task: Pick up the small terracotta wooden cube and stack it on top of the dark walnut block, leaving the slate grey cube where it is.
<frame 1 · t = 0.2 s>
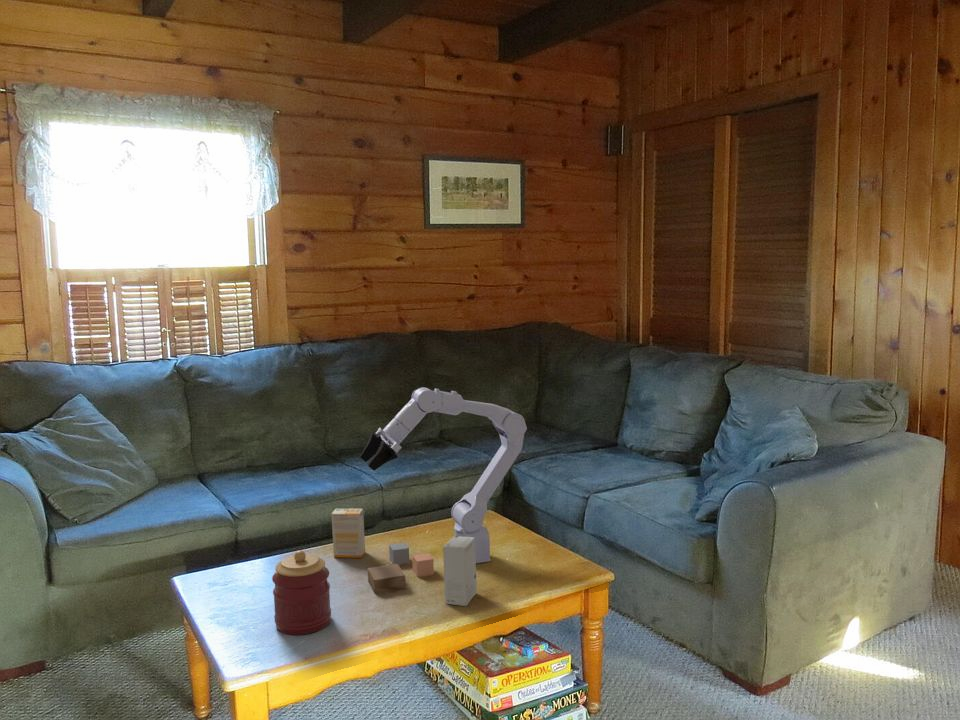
hand: (366, 463, 211), 31 cm above the table, tool tilted 45°, fingers open, 7 cm apart
slate grey cube: (399, 561, 225), on the table
terracotta cube: (423, 573, 217), on the table
walnut block: (386, 586, 209), on the table
skincare box: (460, 599, 201), on the table
supplement box: (349, 555, 230), on the table
canister: (303, 623, 189), on the table
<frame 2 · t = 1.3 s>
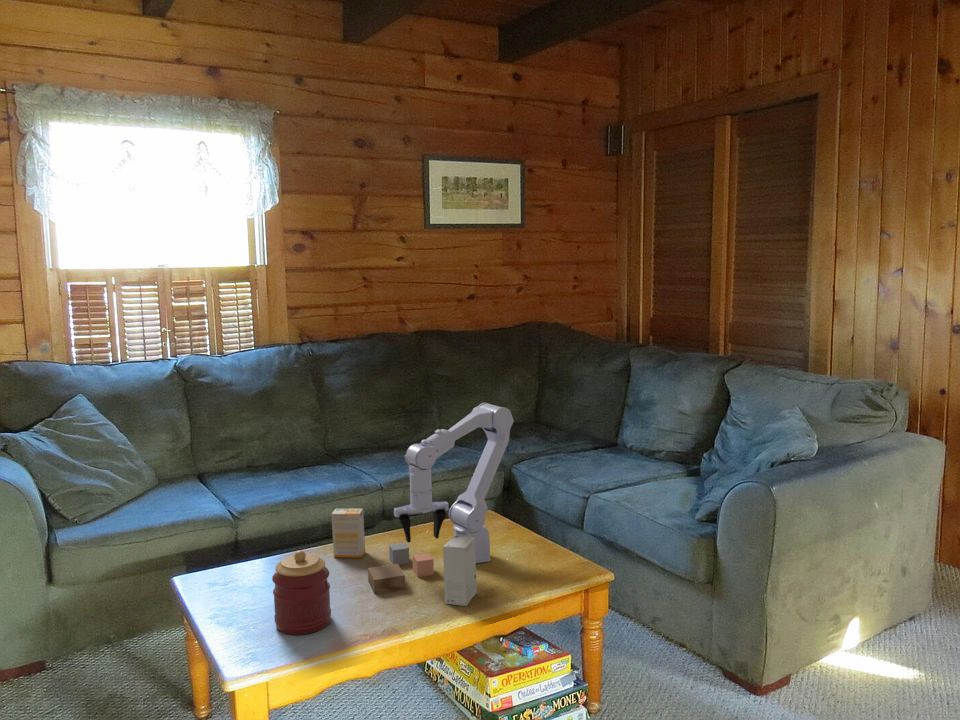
hand: (422, 539, 215), 9 cm above the table, tool pointing down, fingers open, 7 cm apart
nothing on the table moved.
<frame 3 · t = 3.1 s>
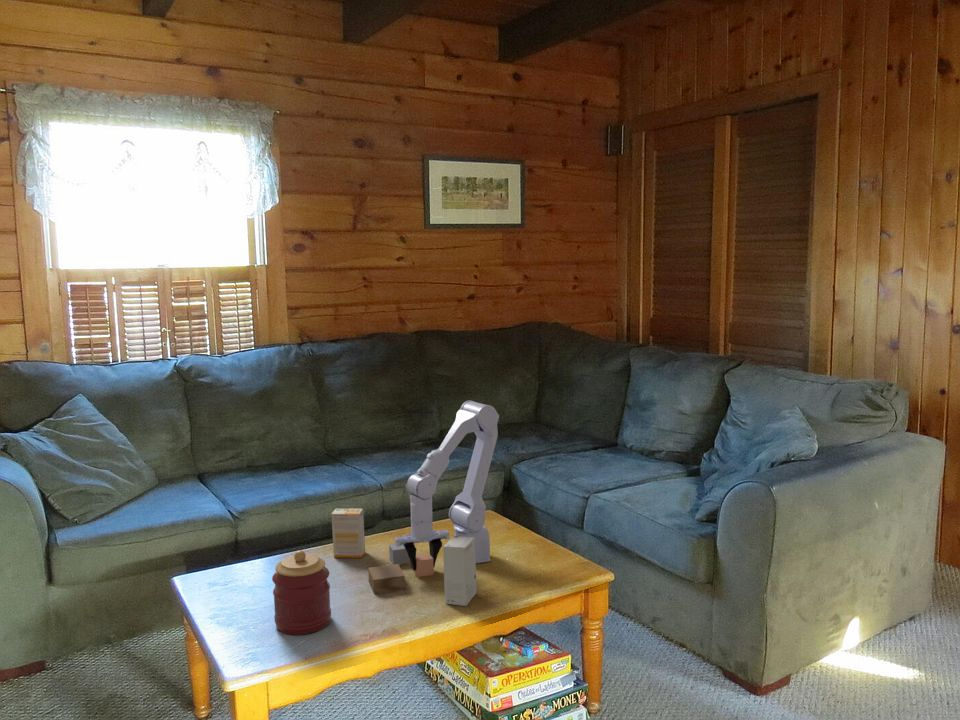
hand: (423, 567, 216), 1 cm above the table, tool pointing down, fingers closed on terracotta cube, 4 cm apart
terracotta cube: (423, 572, 217), on the table, touching gripper
everything else where it was.
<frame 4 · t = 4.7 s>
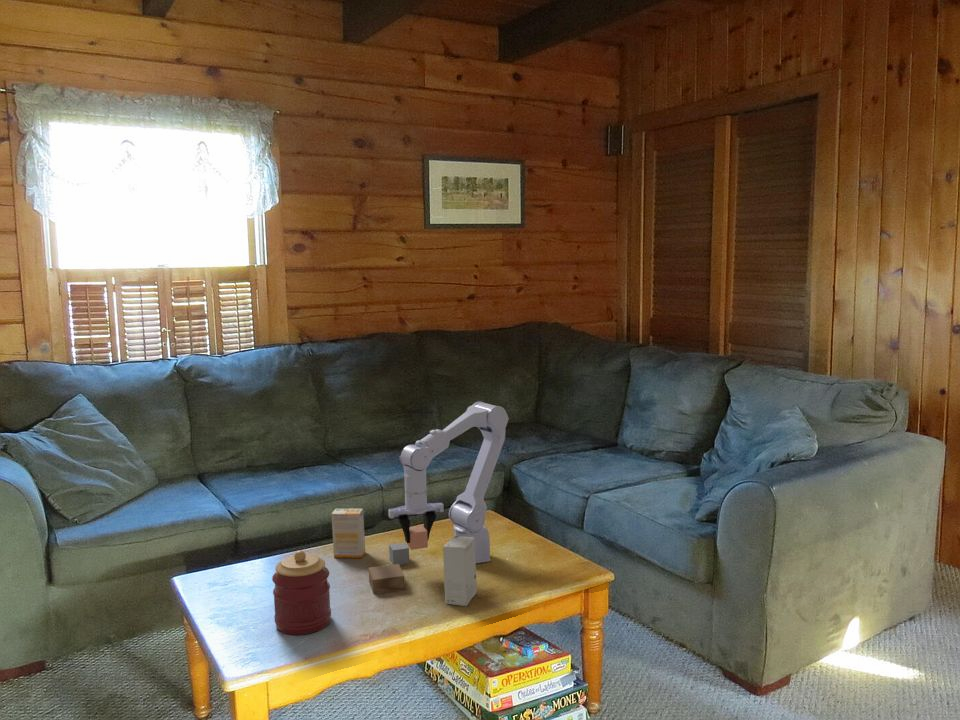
hand: (416, 540, 214), 9 cm above the table, tool pointing down, fingers closed on terracotta cube, 4 cm apart
terracotta cube: (417, 545, 214), point 8 cm above the table, touching gripper
everything else where it was.
when the fingers open (7 cm above the table, at t = 6.2 s): terracotta cube drops 2 cm, resting on walnut block.
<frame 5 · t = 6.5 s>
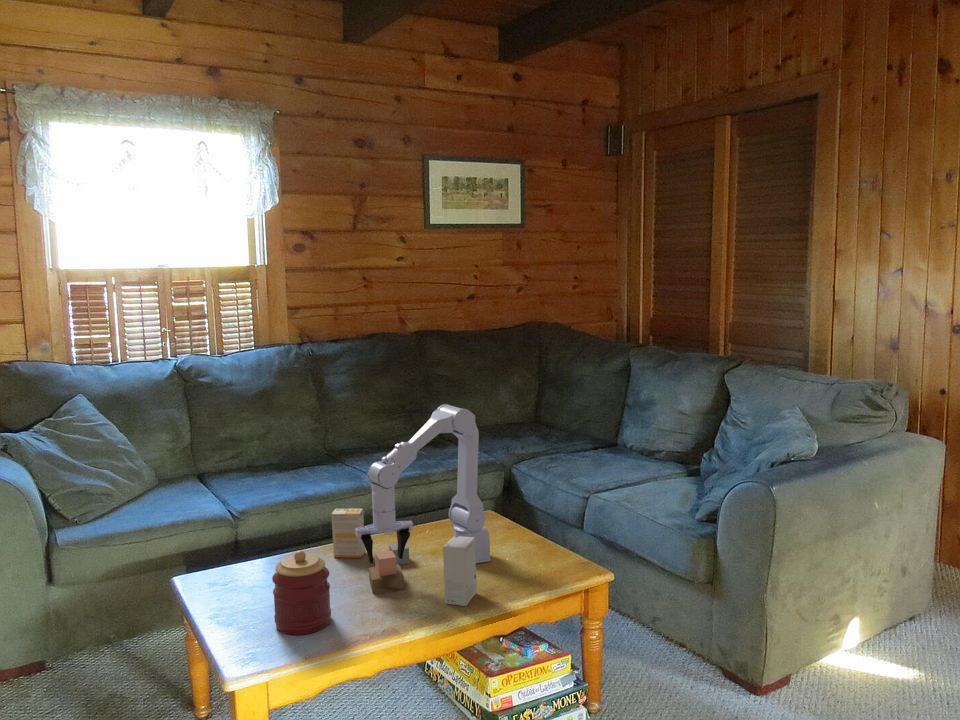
hand: (385, 559, 208), 7 cm above the table, tool pointing down, fingers open, 7 cm apart
terracotta cube: (386, 571, 209), point 4 cm above the table, touching walnut block
walnut block: (386, 586, 209), on the table, touching terracotta cube
everything else where it was.
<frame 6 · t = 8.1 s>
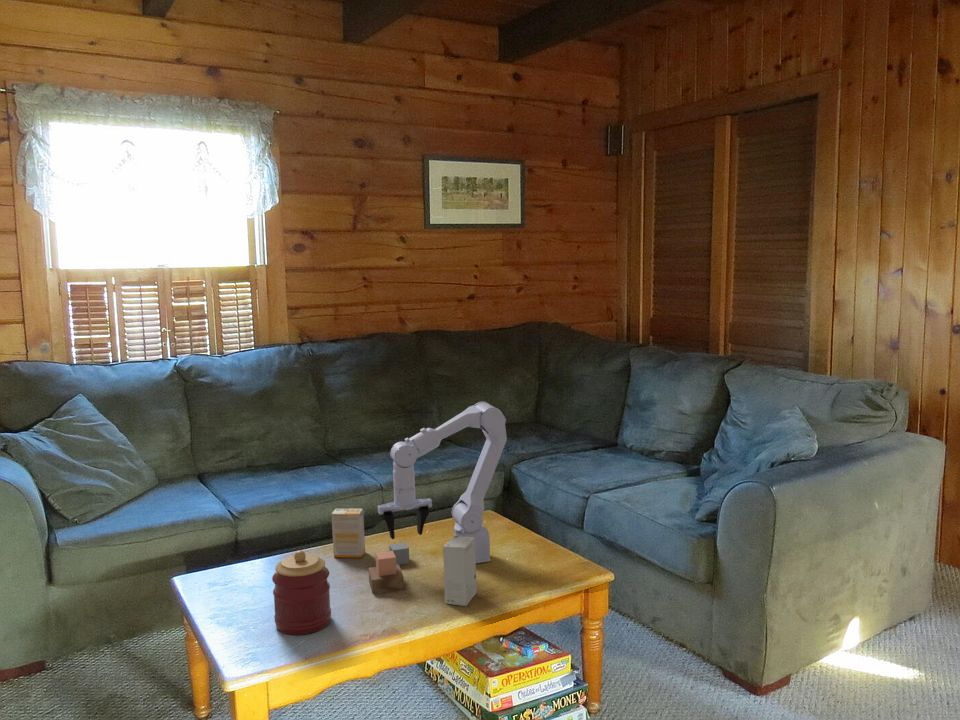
hand: (406, 535, 218), 9 cm above the table, tool pointing down, fingers open, 7 cm apart
terracotta cube: (386, 571, 209), point 4 cm above the table
walnut block: (386, 586, 209), on the table
everything else where it was.
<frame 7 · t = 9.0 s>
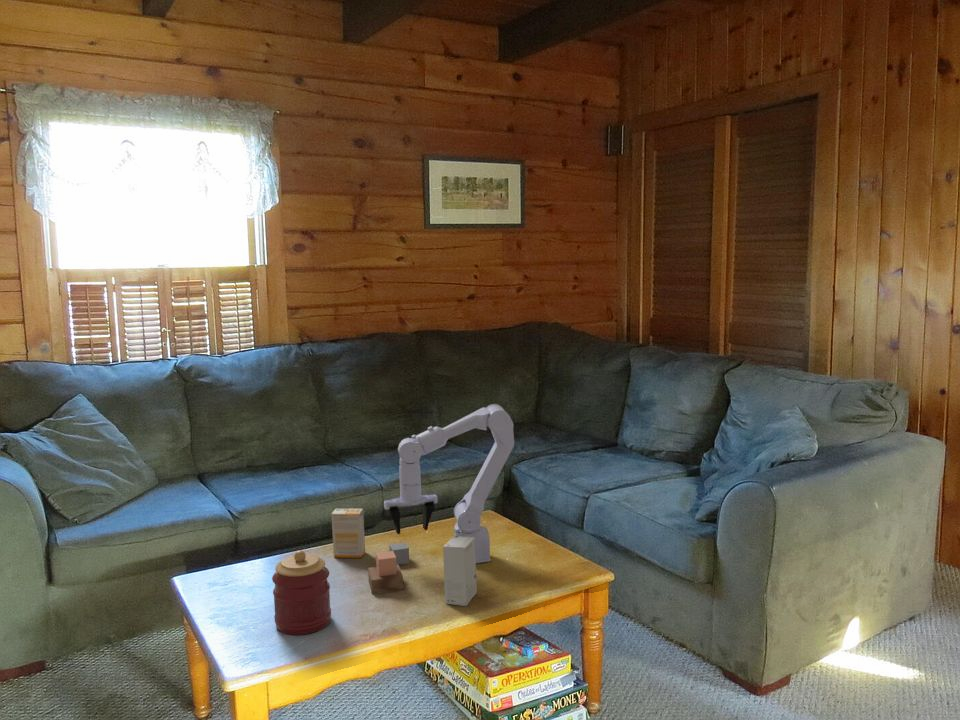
hand: (411, 530, 221), 9 cm above the table, tool pointing down, fingers open, 7 cm apart
terracotta cube: (386, 571, 209), point 4 cm above the table, touching walnut block
walnut block: (385, 586, 209), on the table, touching terracotta cube
everything else where it was.
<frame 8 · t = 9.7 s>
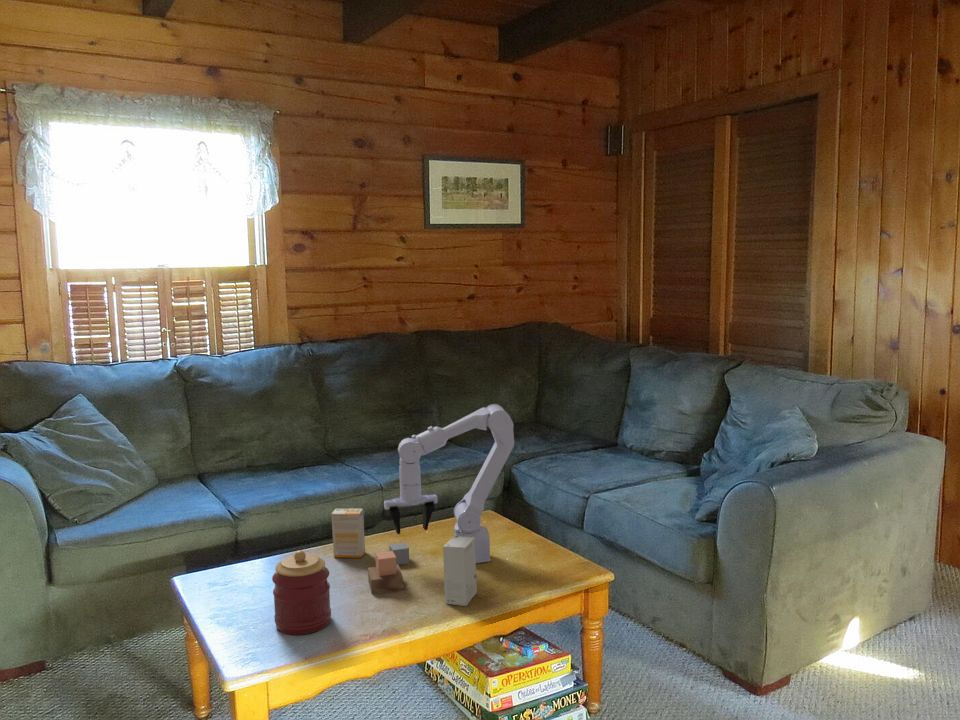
hand: (411, 530, 221), 9 cm above the table, tool pointing down, fingers open, 7 cm apart
nothing on the table moved.
at the end: terracotta cube 0.2 cm off-centre on the walnut block, point 4.0 cm above the walnut block's base; terracotta cube tilted 0°; the gripper is holding nothing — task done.
